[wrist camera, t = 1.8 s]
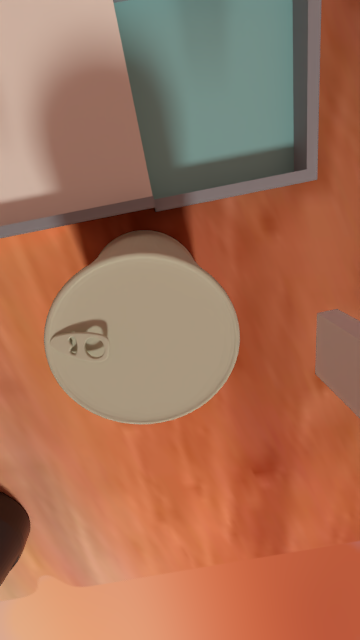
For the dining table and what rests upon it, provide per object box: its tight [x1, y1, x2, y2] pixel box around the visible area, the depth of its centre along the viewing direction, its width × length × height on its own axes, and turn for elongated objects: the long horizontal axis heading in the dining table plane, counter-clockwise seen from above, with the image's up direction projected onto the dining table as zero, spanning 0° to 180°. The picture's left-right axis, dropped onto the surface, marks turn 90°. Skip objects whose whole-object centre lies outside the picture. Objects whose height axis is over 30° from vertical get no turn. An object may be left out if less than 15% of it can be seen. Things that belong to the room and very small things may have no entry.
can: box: [44, 230, 240, 424], centre depth 18 cm, size 9×9×12 cm
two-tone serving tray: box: [0, 0, 321, 238], centre depth 17 cm, size 27×13×3 cm, turn 100°
